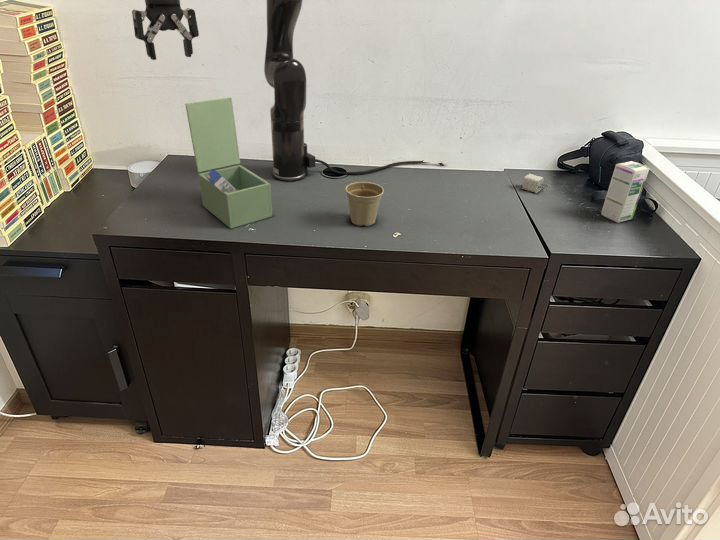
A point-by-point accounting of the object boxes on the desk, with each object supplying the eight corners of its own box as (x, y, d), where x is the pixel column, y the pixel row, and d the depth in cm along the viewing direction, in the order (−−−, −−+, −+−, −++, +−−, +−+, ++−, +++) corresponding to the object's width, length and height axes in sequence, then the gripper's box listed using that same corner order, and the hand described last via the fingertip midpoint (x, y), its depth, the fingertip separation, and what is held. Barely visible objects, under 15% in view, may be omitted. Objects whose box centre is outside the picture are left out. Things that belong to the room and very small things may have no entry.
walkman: (236, 206, 129) (204, 175, 121) (244, 198, 130) (212, 167, 121) (248, 217, 124) (215, 186, 115) (256, 209, 124) (224, 178, 116)
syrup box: (617, 223, 131) (636, 170, 123) (599, 214, 135) (616, 162, 127) (632, 219, 133) (651, 167, 125) (613, 210, 138) (631, 159, 130)
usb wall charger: (527, 185, 150) (530, 173, 148) (549, 192, 147) (553, 179, 145) (521, 189, 148) (524, 176, 146) (543, 196, 144) (547, 183, 142)
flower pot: (386, 216, 129) (388, 185, 125) (375, 232, 122) (377, 199, 117) (352, 210, 132) (353, 179, 127) (339, 225, 124) (339, 193, 119)
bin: (272, 216, 127) (270, 183, 122) (230, 228, 121) (226, 194, 116) (243, 195, 137) (240, 164, 132) (202, 205, 131) (198, 173, 126)
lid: (231, 97, 124) (221, 95, 128) (186, 103, 118) (177, 101, 122) (240, 163, 132) (230, 159, 136) (198, 172, 125) (189, 167, 129)
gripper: (132, -19, 106) (147, 63, 114) (197, -19, 113) (206, 58, 122) (120, -21, 110) (135, 57, 119) (183, -21, 118) (193, 53, 127)
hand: (171, 58), depth 121 cm, fingers open, 8 cm apart
